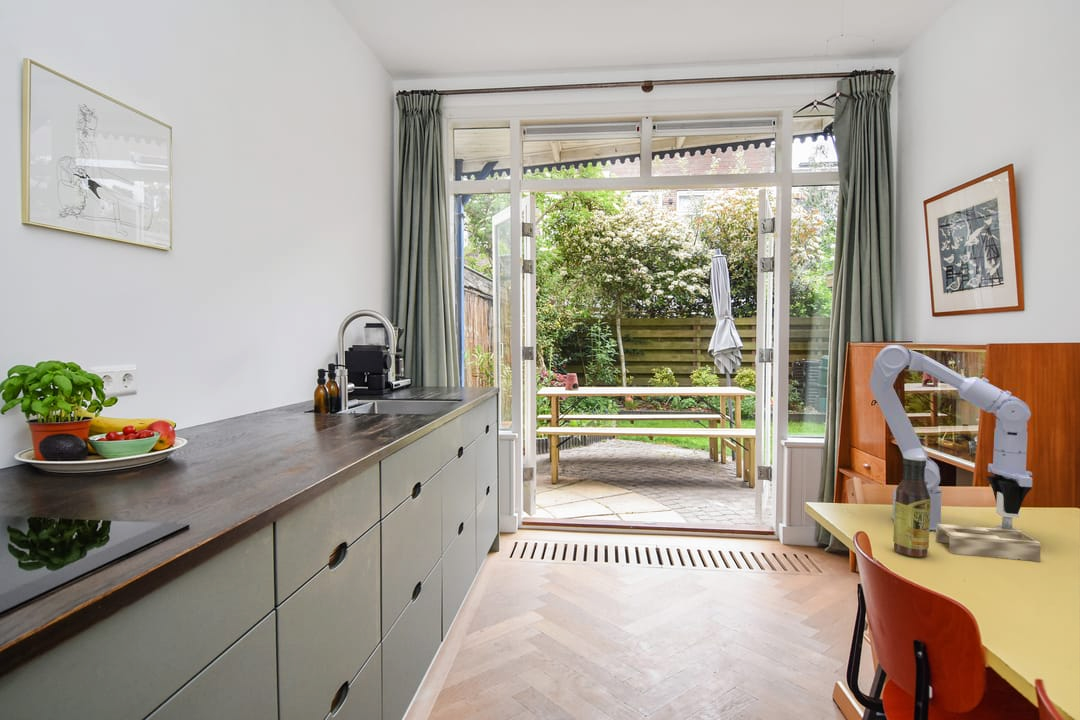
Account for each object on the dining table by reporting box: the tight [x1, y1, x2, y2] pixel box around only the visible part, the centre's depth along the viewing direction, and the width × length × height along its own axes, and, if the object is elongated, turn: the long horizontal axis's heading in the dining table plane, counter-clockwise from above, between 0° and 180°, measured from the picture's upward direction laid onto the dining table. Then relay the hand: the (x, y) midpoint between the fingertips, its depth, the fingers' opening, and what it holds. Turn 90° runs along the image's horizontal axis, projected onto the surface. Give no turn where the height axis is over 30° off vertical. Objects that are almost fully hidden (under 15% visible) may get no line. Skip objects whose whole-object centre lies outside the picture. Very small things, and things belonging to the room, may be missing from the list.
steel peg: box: [993, 491, 1020, 530], centre depth 128 cm, size 4×4×9 cm
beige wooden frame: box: [935, 523, 1042, 562], centre depth 121 cm, size 16×8×4 cm, turn 74°
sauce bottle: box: [892, 456, 931, 558], centre depth 119 cm, size 7×6×20 cm
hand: (1007, 511), depth 128 cm, fingers closed on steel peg, 3 cm apart
